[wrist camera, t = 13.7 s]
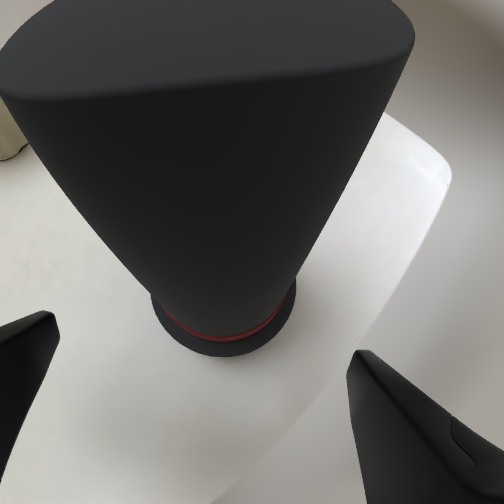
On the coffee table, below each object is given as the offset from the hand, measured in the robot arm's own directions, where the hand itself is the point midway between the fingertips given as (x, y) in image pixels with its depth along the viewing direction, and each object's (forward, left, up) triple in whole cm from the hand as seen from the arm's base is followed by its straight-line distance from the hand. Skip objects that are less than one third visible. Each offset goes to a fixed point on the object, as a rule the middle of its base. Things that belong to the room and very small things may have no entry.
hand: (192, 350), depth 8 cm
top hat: (+2, -4, -8) cm, 9 cm away
